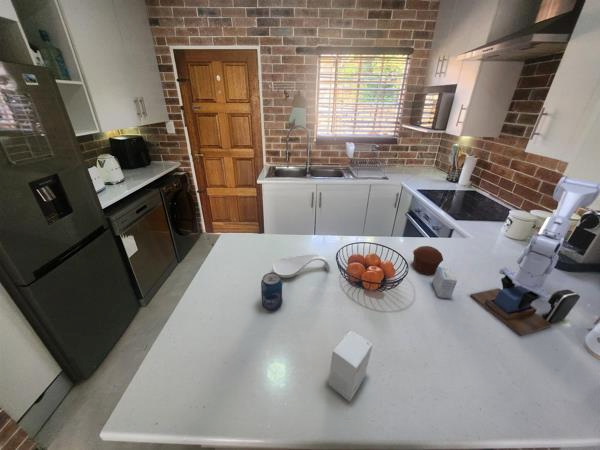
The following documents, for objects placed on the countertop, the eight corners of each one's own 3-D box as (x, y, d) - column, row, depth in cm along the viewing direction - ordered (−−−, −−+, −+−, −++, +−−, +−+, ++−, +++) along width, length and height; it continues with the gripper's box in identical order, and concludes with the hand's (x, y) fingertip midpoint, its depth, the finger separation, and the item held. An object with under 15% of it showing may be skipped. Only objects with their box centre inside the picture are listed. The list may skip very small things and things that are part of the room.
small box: (344, 361, 68) (350, 328, 62) (365, 377, 64) (373, 343, 58) (327, 384, 62) (332, 350, 56) (349, 402, 59) (357, 368, 53)
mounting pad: (498, 290, 96) (501, 284, 95) (550, 326, 81) (555, 320, 80) (470, 296, 93) (473, 290, 91) (519, 335, 77) (523, 329, 76)
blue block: (514, 298, 89) (521, 285, 86) (528, 308, 85) (536, 294, 82) (492, 302, 87) (499, 289, 84) (507, 313, 82) (514, 300, 80)
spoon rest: (274, 284, 95) (274, 269, 92) (270, 266, 105) (270, 252, 102) (332, 276, 100) (334, 262, 97) (323, 260, 110) (324, 246, 107)
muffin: (434, 262, 112) (440, 243, 107) (442, 277, 102) (450, 257, 97) (407, 259, 113) (412, 240, 109) (412, 274, 104) (418, 254, 99)
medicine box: (450, 299, 91) (457, 280, 87) (437, 297, 92) (444, 278, 88) (443, 285, 98) (450, 267, 94) (431, 283, 99) (437, 265, 95)
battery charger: (551, 311, 87) (569, 286, 82) (564, 320, 84) (583, 294, 79) (536, 314, 86) (553, 289, 80) (548, 323, 82) (566, 297, 77)
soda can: (262, 314, 82) (260, 286, 76) (261, 299, 88) (260, 272, 82) (283, 312, 83) (283, 284, 77) (281, 297, 89) (281, 270, 83)
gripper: (499, 258, 84) (484, 289, 90) (547, 287, 72) (526, 320, 78) (514, 256, 86) (499, 286, 92) (564, 283, 73) (542, 316, 80)
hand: (512, 301), depth 85 cm, fingers closed on blue block, 5 cm apart
